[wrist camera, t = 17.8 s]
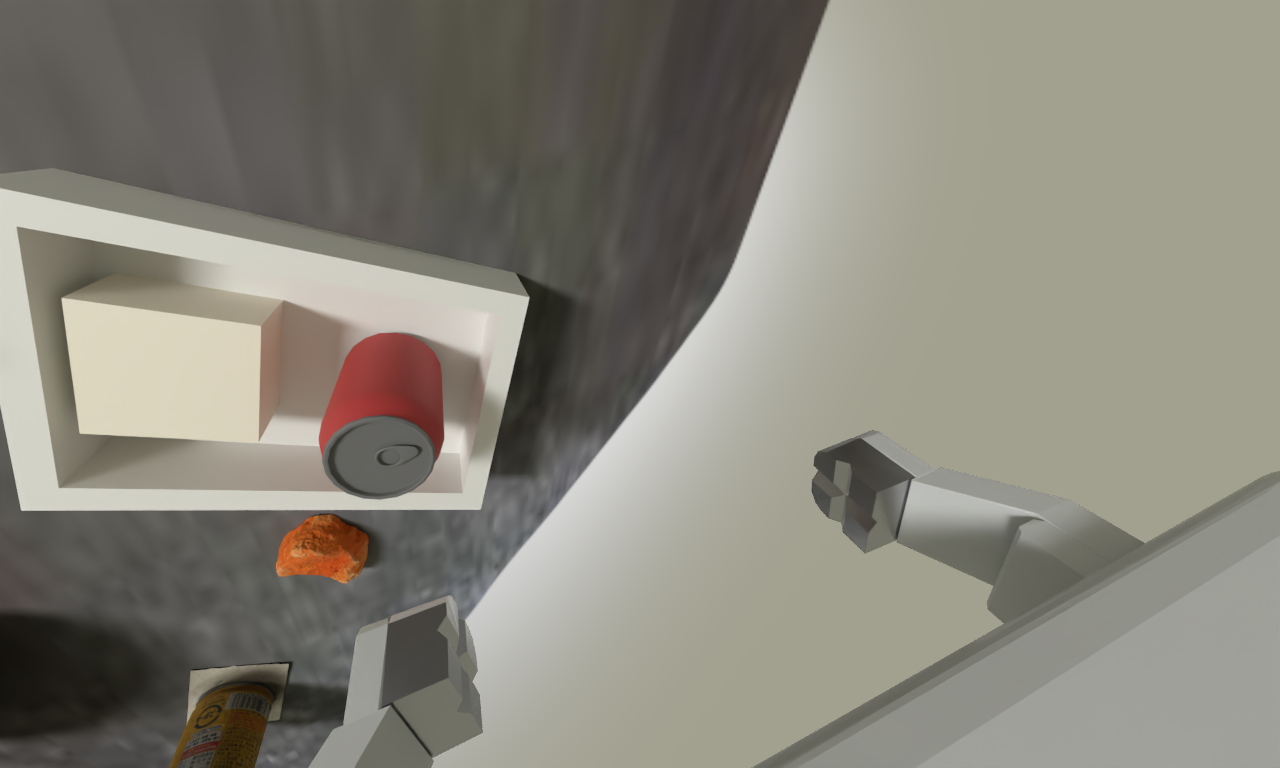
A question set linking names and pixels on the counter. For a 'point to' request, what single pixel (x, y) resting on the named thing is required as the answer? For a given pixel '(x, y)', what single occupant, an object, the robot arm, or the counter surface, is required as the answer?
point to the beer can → (384, 418)
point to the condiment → (229, 715)
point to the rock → (323, 549)
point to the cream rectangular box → (173, 359)
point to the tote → (310, 353)
